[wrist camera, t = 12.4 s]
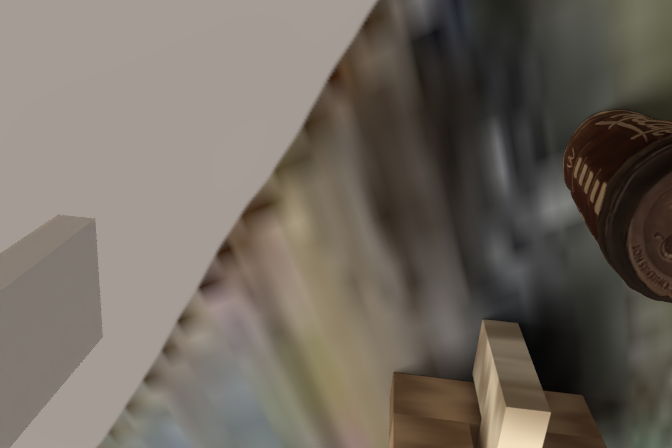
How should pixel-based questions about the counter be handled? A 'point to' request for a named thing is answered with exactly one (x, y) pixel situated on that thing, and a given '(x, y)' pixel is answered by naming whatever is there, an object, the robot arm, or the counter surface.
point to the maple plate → (508, 390)
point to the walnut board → (474, 416)
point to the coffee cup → (626, 194)
